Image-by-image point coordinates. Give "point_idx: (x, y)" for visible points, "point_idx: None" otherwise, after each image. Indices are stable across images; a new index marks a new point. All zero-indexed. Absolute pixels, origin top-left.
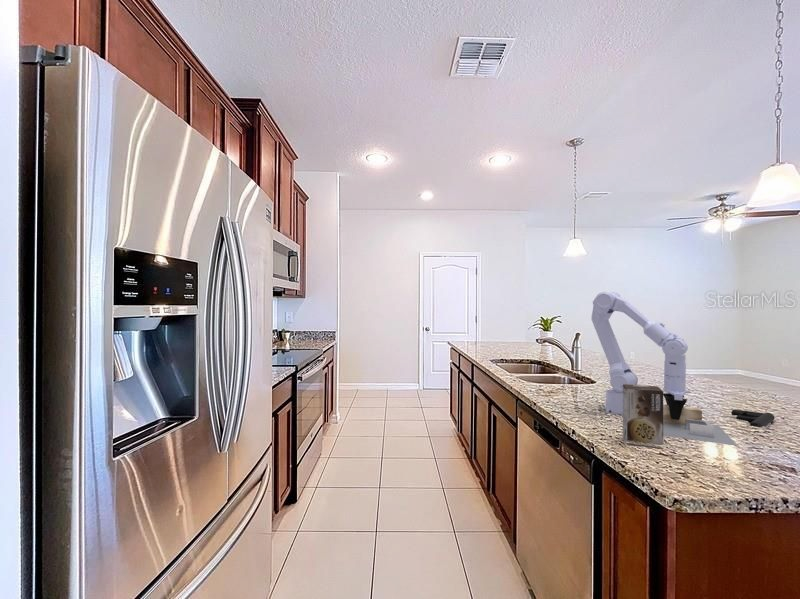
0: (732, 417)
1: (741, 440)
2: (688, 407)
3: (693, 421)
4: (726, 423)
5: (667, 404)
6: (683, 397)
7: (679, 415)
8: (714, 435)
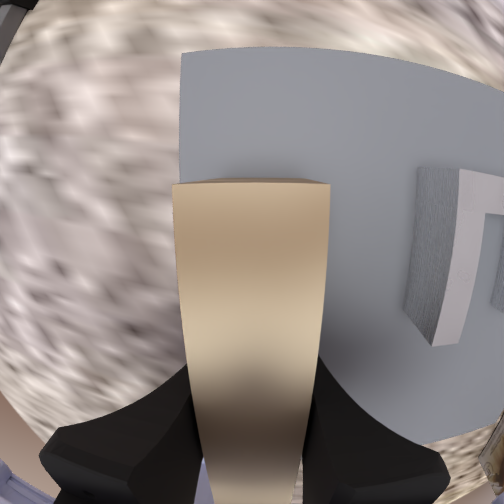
0: (2, 21)
1: (382, 6)
2: (199, 327)
3: (465, 290)
4: (36, 39)
5: (198, 467)
6: (136, 462)
7: (328, 375)
8: (492, 164)
